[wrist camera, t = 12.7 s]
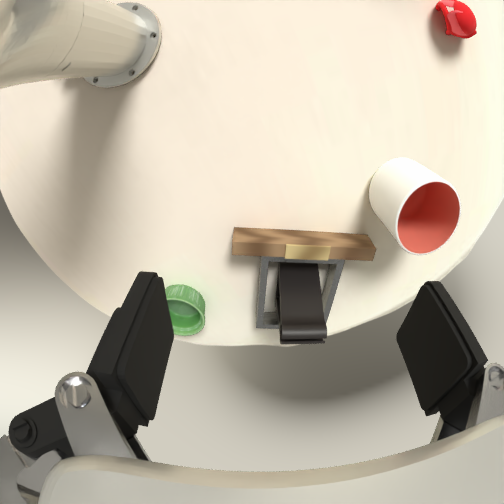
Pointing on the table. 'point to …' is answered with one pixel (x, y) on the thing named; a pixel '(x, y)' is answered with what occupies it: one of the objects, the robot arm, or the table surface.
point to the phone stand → (299, 304)
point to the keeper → (334, 272)
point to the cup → (415, 205)
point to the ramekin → (185, 309)
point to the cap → (458, 18)
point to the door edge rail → (302, 244)
